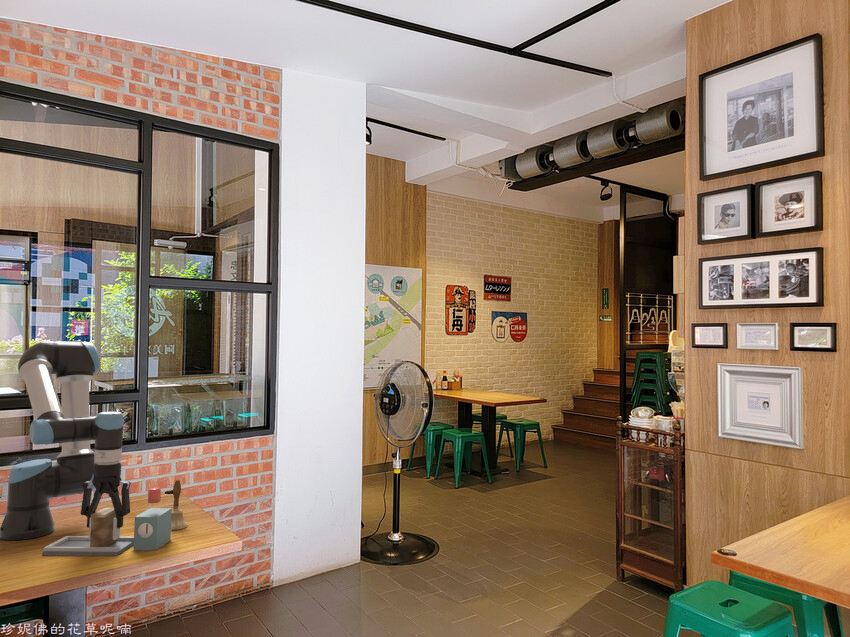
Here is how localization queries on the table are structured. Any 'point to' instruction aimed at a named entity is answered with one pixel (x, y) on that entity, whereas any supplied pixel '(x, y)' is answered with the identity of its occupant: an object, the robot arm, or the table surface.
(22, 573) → the table surface
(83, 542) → the track
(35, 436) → the robot arm
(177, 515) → the hand bell
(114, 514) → the tan rectangular block
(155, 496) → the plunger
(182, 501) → the table surface
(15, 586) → the table surface
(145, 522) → the cabinet
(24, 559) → the table surface
